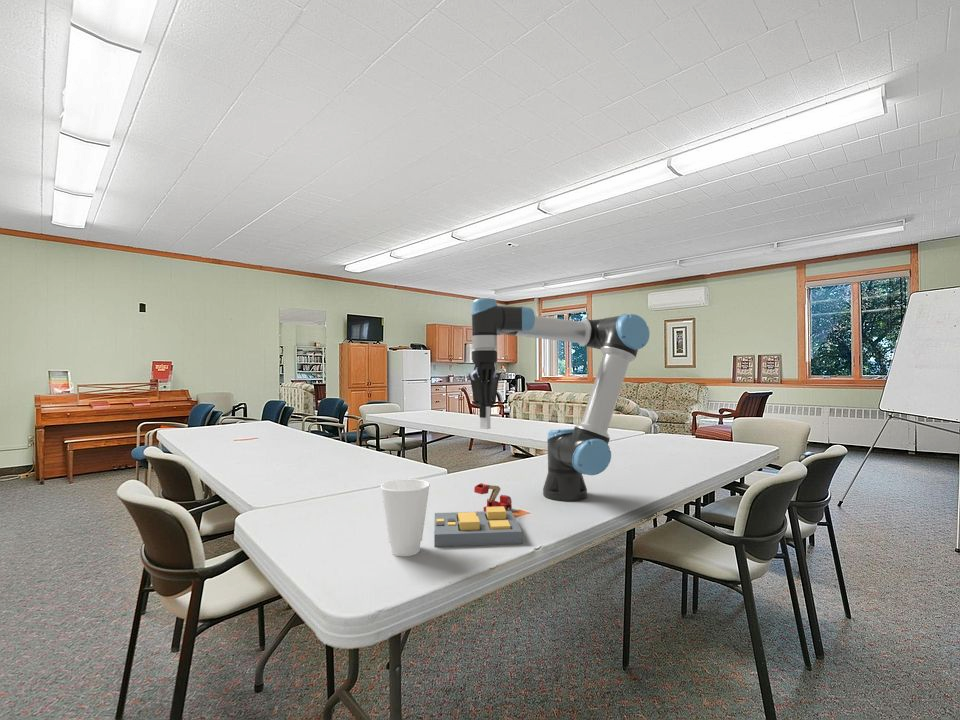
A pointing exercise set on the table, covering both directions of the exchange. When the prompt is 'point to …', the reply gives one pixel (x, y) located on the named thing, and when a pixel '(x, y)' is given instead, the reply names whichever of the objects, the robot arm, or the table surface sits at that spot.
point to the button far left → (496, 513)
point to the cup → (405, 514)
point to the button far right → (466, 514)
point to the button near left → (499, 524)
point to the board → (474, 531)
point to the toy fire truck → (494, 496)
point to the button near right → (469, 523)
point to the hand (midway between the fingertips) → (485, 428)
